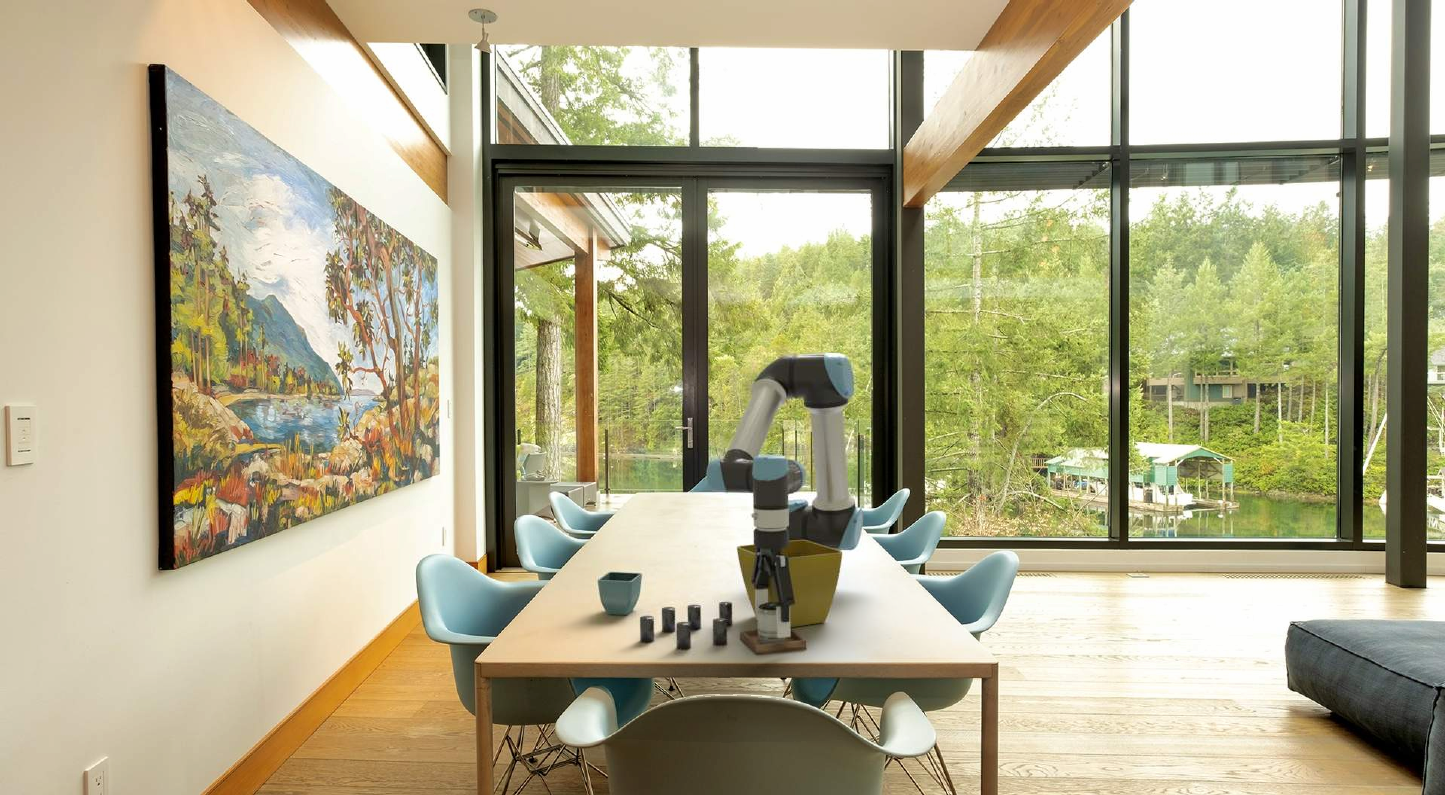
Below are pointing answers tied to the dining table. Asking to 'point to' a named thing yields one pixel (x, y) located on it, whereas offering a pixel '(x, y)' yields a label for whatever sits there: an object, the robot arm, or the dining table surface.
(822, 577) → the flower pot
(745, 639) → the tray
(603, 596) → the flower pot
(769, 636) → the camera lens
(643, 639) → the spacers
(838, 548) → the robot arm
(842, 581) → the dining table surface
